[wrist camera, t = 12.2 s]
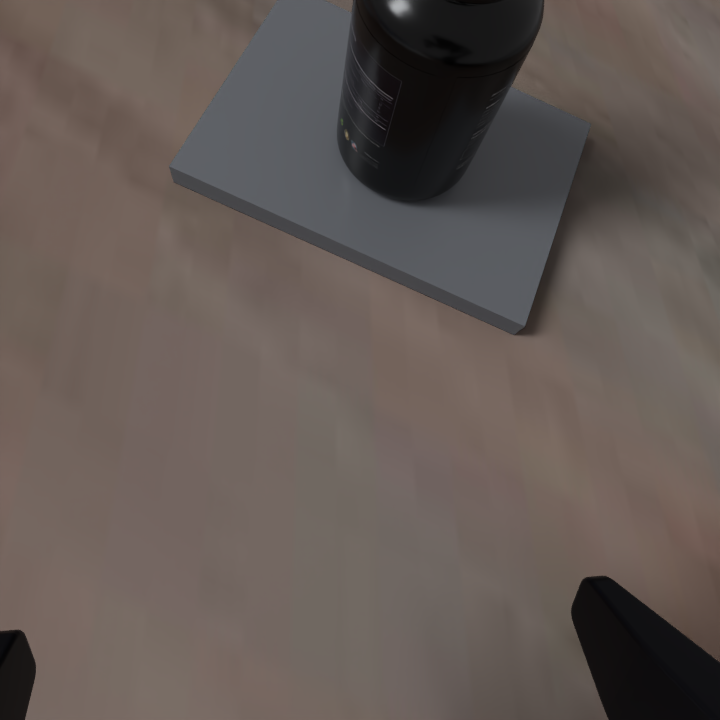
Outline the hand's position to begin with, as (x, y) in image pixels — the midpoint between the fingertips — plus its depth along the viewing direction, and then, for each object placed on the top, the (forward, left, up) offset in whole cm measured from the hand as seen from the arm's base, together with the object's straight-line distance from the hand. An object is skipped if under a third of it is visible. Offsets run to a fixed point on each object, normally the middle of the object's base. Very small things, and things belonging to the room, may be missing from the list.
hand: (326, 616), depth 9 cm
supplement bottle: (+3, -20, -13) cm, 23 cm away
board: (+3, -20, -14) cm, 24 cm away
